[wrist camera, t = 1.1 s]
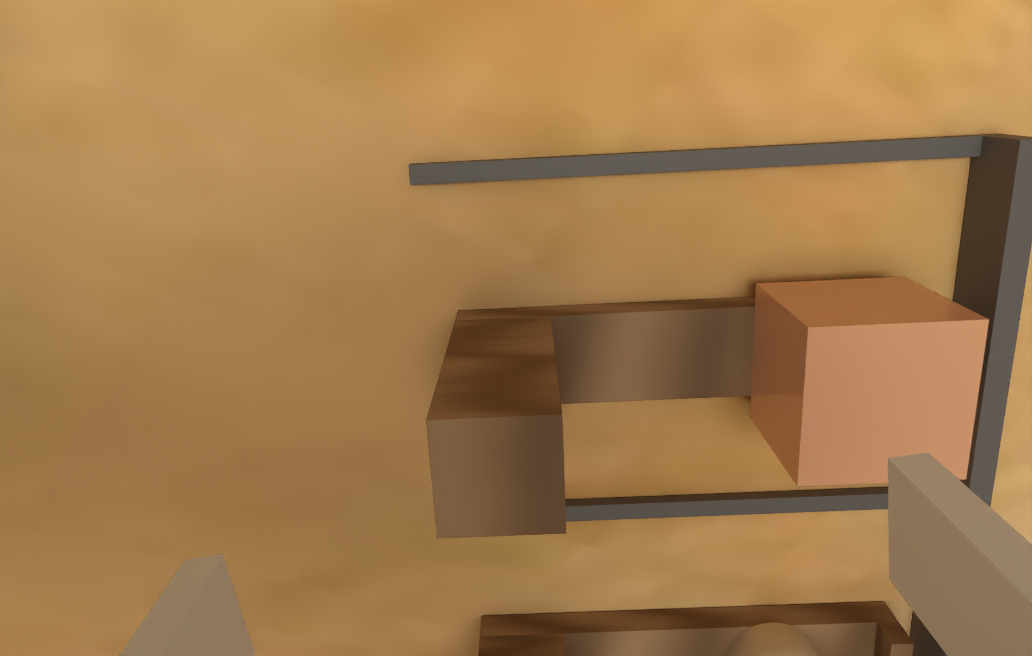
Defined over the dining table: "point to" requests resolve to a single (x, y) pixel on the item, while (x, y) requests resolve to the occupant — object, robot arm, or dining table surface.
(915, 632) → the bar
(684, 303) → the brown l-shaped block
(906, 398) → the cube
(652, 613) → the brown l-shaped bracket
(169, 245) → the dining table surface
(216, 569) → the robot arm
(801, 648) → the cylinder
